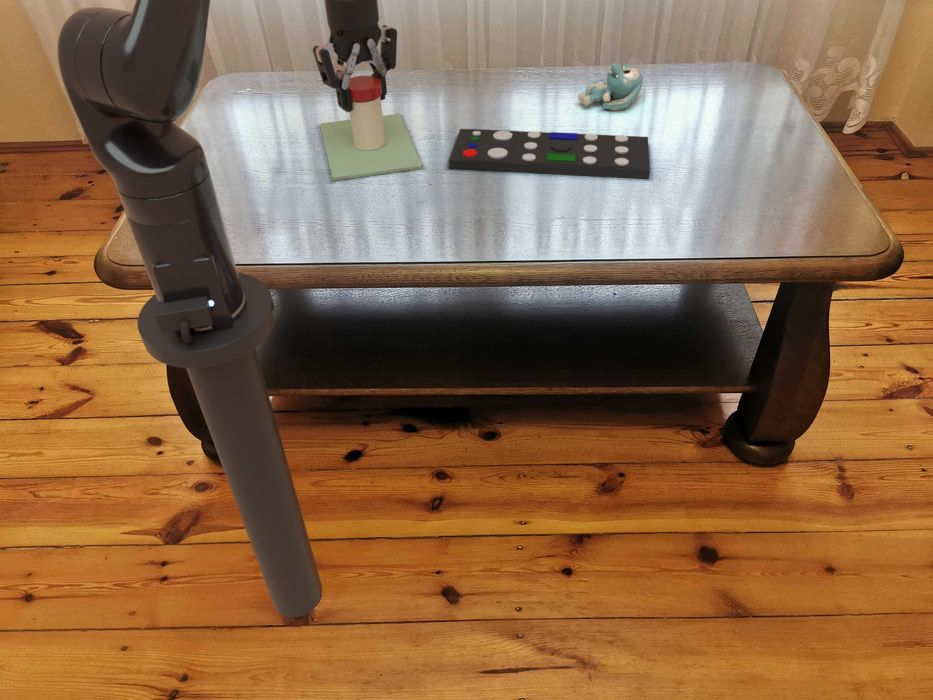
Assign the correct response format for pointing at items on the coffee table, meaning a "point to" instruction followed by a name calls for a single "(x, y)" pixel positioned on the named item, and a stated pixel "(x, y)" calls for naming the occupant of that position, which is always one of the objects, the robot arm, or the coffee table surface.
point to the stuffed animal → (615, 88)
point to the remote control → (551, 153)
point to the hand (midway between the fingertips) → (363, 104)
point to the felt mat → (373, 162)
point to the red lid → (365, 88)
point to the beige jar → (367, 124)
